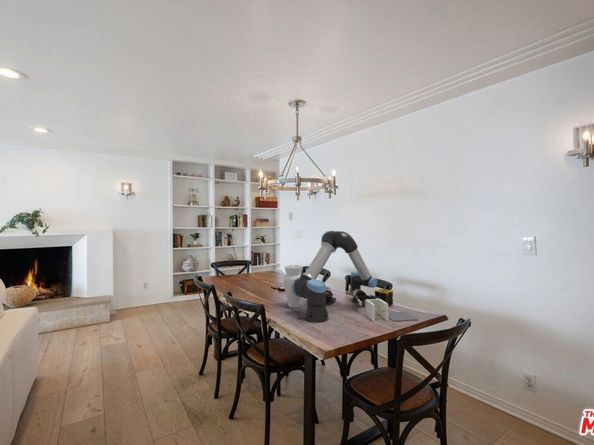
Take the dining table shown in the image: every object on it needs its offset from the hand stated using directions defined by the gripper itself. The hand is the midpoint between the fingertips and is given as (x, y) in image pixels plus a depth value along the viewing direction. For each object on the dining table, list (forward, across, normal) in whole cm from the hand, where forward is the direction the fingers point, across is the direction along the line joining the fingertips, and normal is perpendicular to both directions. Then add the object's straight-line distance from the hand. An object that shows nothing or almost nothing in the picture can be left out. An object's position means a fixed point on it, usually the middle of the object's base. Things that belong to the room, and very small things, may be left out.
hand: (370, 303), depth 199 cm
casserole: (-29, +27, -7) cm, 40 cm away
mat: (+11, -15, -6) cm, 19 cm away
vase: (-23, +49, -6) cm, 55 cm away
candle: (-18, -17, -7) cm, 26 cm away
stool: (+10, 0, -6) cm, 12 cm away
